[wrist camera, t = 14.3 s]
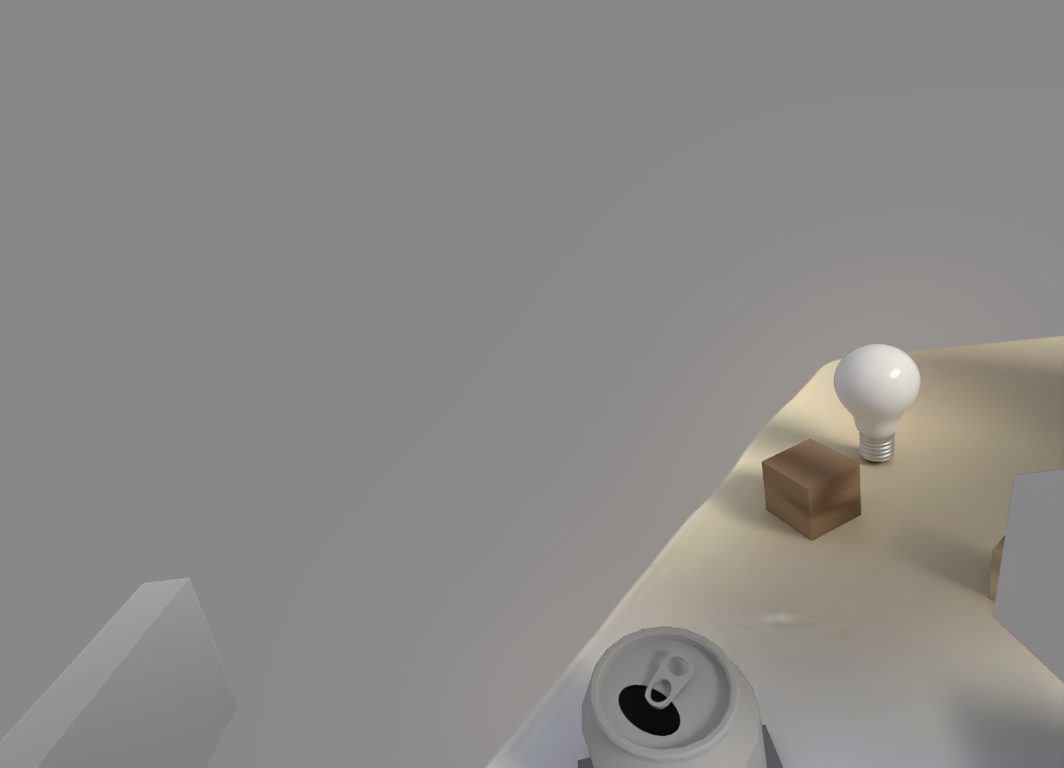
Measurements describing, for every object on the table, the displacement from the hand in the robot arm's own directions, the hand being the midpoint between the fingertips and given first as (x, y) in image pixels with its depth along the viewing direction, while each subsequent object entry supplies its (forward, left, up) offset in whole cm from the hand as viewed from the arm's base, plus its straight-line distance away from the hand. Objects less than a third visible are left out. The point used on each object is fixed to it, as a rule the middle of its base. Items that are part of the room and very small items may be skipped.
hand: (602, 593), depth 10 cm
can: (-1, -10, -27) cm, 29 cm away
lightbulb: (-25, -38, -28) cm, 53 cm away
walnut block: (-17, -33, -28) cm, 46 cm away
